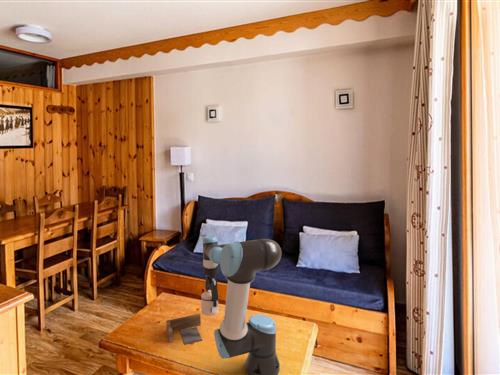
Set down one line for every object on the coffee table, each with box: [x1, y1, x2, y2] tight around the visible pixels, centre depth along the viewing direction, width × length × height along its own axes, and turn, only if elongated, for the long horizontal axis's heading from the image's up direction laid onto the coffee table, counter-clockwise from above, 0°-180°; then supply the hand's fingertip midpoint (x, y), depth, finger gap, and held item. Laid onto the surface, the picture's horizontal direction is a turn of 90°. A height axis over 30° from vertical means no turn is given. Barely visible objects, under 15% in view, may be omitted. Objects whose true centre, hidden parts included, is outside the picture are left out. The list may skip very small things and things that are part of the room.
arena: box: [165, 313, 203, 346], centre depth 168 cm, size 16×18×6 cm
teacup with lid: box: [200, 290, 219, 317], centre depth 169 cm, size 12×9×12 cm
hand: (212, 308), depth 168 cm, fingers closed on teacup with lid, 9 cm apart
